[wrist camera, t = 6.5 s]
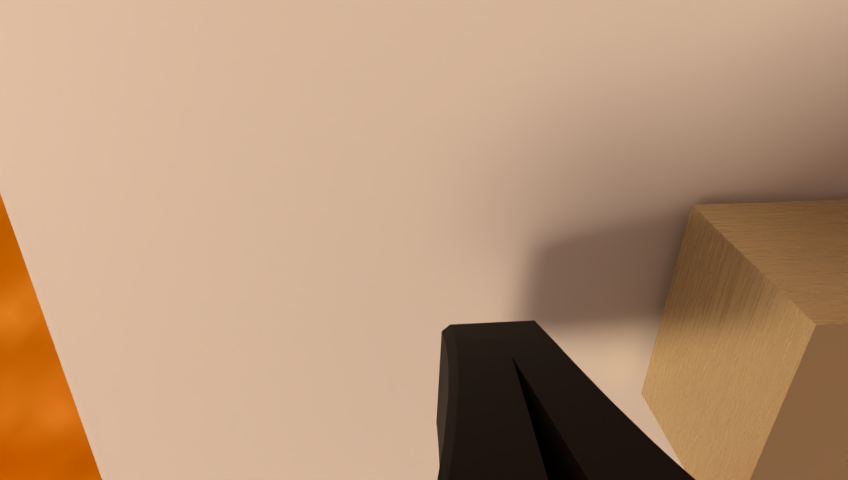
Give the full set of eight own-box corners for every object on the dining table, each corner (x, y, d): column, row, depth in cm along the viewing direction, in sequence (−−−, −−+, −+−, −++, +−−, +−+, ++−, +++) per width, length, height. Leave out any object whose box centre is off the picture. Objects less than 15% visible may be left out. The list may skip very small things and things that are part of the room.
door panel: (814, 458, 16) (841, 492, 15) (143, 516, 14) (130, 558, 13) (1081, -83, 10) (1154, -77, 9) (-56, -104, 8) (-105, -100, 7)
